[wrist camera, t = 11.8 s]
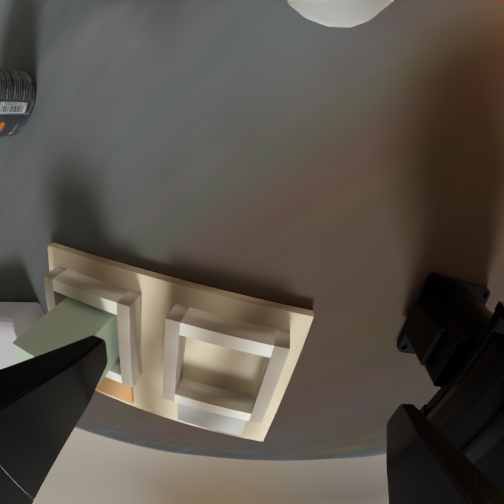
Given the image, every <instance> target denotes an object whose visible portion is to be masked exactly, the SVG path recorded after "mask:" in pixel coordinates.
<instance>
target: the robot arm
mask: <svg viewBox="0 0 504 504" xmlns="http://www.w3.org/2000/svg"><path fill="white" fill-rule="evenodd" d="M435 278H436V280H435V282H433V283H432V281H433V279H435ZM484 293H485V294H484ZM483 294H484V295H483ZM489 295H490V291H489V289H487V288H486V287H484V286H480V285H477V284H473V283H470V282H466V281H463V280H459V279H455V278H452V277H448V276H445V275H441V274H437V273H432V274H430V275H429V276H428V278H427V280H426V282H425V285H424V287H423V290H422V292H421V294H420V297H419V299H418V300H417V301H416V303H415V306H414V308H413V310H412V312H411V314H410V316H409V319H408V321H407V323H406V325H405V327H404V329H403V330H404V331H403V333H402V335H401V337H400V339H399V341H398V343H397V348H398V350H399V351H400V352H404V353H412V354H416V356H417V358H418V360H419V362H420V363H421V365H423V366H425V368H426V370H427V372H428V374H429V376H430V378H431V380H432V382H433V384H434V386H440V387H441V388H440V390H439V391H438V392H437V393H436V394H435V395H434V397H433V398H432V399H431V400H430V401H429V402H428V403H427V405H424V406H423V407H422V408H421V409H420V410H418V409H417V408H416V407H415V406H414V405H412V404H401V405H400V406H399V407H398V408H397V410H396V411H395V412H394V414H393V415H392V416H391V418H390V419H389V421H388V423H387V477H388V492H389V504H504V303H502V302H500V301H499V302H498V304H497V306H496V307H495V312H494V314H492V313H491V312H490V311H489V310H488V309H487V308H486V307H485V304H486V302H487V300H488V298H489ZM404 344H405V345H404ZM402 345H404V346H402ZM401 346H402V347H401ZM107 362H108V358H107V349H106V342H105V340H104V339H102V338H99V337H97V336H94V335H92V336H89V337H86V338H84V339H81V340H78V341H76V342H73V343H71V344H68V345H65V346H63V347H60V348H57V349H55V350H52V351H49V352H47V353H44V354H41V355H39V356H36V357H33V358H30V359H28V360H25V361H22V362H20V363H17V364H14V365H11V366H9V367H6V368H3V369H0V504H32V503H33V500H34V498H35V497H36V495H37V493H38V491H39V489H40V487H41V485H42V483H43V482H44V480H45V478H46V476H47V474H48V472H49V471H50V469H51V467H52V465H53V463H54V462H55V460H56V458H57V456H58V455H59V453H60V451H61V449H62V448H63V446H64V444H65V443H66V441H67V439H68V437H69V436H70V434H71V432H72V431H73V429H74V427H75V426H76V424H77V422H78V421H79V419H80V417H81V416H82V414H83V413H84V411H85V409H86V408H87V406H88V404H89V402H90V400H91V398H92V396H93V394H94V391H95V389H96V387H97V385H98V383H99V381H100V379H101V377H102V374H103V372H104V370H105V368H106V366H107Z"/></svg>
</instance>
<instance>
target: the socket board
mask: <svg viewBox="0 0 504 504" xmlns="http://www.w3.org/2000/svg"><path fill="white" fill-rule="evenodd" d="M48 257H49V270H50V272H48V273H46V274H45V275H44V284H45V292H46V299H47V306H48V312H49V311H50V310H52V309H53V308H54V307H55V306H57V305H58V304H59V303H60V302H62V301H63V300H64V299H65V298H67V297H70V298H73V299H75V300H78V301H81V302H83V303H86V304H88V305H91V306H94V307H96V308H99V309H102V310H104V311H107V312H110V313H113V314H116V315H117V325H118V343H119V356H120V357H119V358H118V359H117V361H116V362H115V363H114V365H113V366H112V367H111V369H110V370H109V371H108V373H107V374H106V376H105V377H104V378H103V380H102V381H101V382H100V384H99V385H98V387H97V388H96V389H95V390H96V391H98V392H100V393H103V394H105V395H107V396H110V397H112V398H114V399H117V400H119V401H122V402H124V403H127V404H129V405H132V406H135V407H137V408H140V409H143V410H145V411H148V412H151V413H154V414H157V415H160V416H163V417H166V418H169V419H172V420H175V421H179V422H182V423H185V424H189V425H192V426H196V427H199V428H203V429H207V430H211V431H215V432H219V433H223V434H227V435H232V436H237V437H241V438H246V439H251V440H257V441H262V442H263V440H264V438H265V436H266V433H267V431H268V429H269V427H270V425H271V422H272V420H273V418H274V416H275V413H276V411H277V409H278V406H279V404H280V402H281V399H282V397H283V395H284V392H285V390H286V388H287V385H288V383H289V380H290V378H291V375H292V373H293V370H294V368H295V365H296V363H297V360H298V358H299V355H300V352H301V350H302V347H303V345H304V342H305V339H306V337H307V334H308V331H309V328H310V326H311V323H312V320H313V317H314V315H313V311H312V310H307V309H303V308H298V307H294V306H289V305H285V304H280V303H276V302H271V301H267V300H263V299H258V298H254V297H250V296H245V295H241V294H237V293H233V292H229V291H225V290H221V289H217V288H213V287H209V286H205V285H201V284H197V283H193V282H189V281H185V280H182V279H178V278H174V277H170V276H167V275H163V274H159V273H155V272H152V271H148V270H145V269H141V268H137V267H134V266H130V265H127V264H123V263H120V262H117V261H113V260H110V259H106V258H103V257H100V256H96V255H93V254H90V253H86V252H83V251H80V250H77V249H73V248H70V247H67V246H64V245H61V244H57V243H54V242H53V243H51V244H49V245H48Z"/></svg>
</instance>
